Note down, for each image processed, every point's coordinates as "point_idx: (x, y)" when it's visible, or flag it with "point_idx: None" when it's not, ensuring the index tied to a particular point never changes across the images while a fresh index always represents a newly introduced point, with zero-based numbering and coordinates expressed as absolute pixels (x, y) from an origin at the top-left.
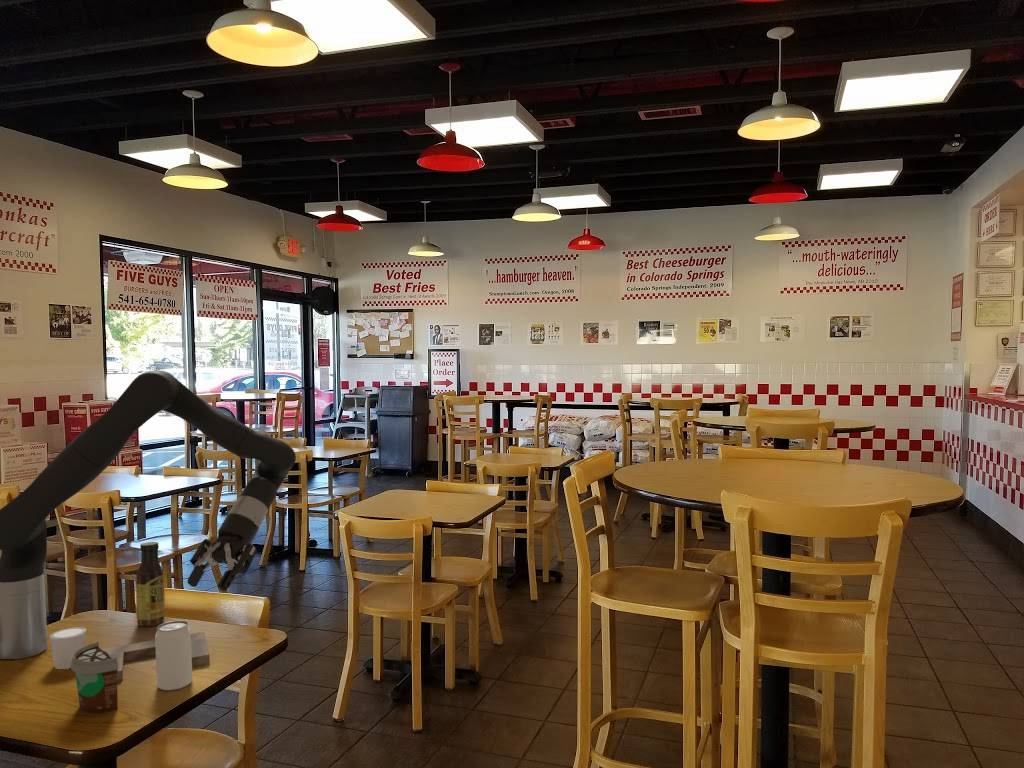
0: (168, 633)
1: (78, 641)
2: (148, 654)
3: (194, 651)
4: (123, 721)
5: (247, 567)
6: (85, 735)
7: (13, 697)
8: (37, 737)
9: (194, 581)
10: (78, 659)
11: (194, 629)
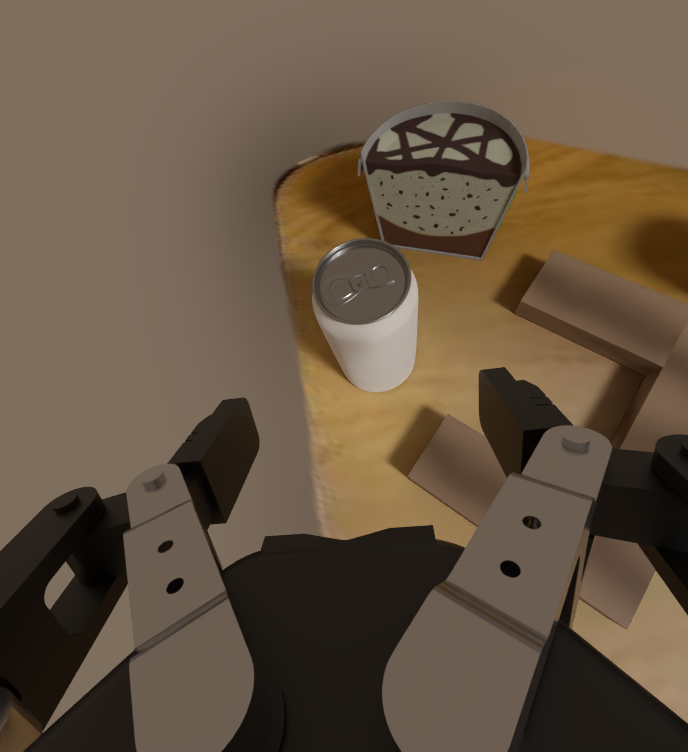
0: (334, 255)
1: None
2: (622, 427)
3: (469, 471)
4: (326, 230)
5: (62, 593)
6: (340, 182)
7: (631, 164)
8: None
9: (487, 409)
10: (469, 122)
11: None
